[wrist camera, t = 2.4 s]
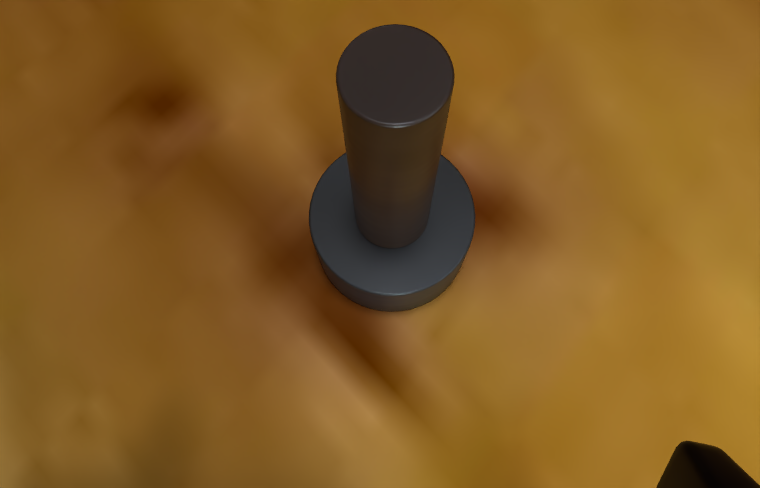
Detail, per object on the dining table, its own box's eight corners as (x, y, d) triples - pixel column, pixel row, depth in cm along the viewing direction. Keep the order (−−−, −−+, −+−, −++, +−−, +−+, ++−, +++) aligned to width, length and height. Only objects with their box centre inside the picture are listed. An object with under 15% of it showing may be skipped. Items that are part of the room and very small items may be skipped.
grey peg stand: (490, 279, 21) (578, 142, 11) (347, 334, 20) (312, 240, 11) (431, 150, 22) (465, -69, 13) (296, 199, 22) (225, 9, 12)
